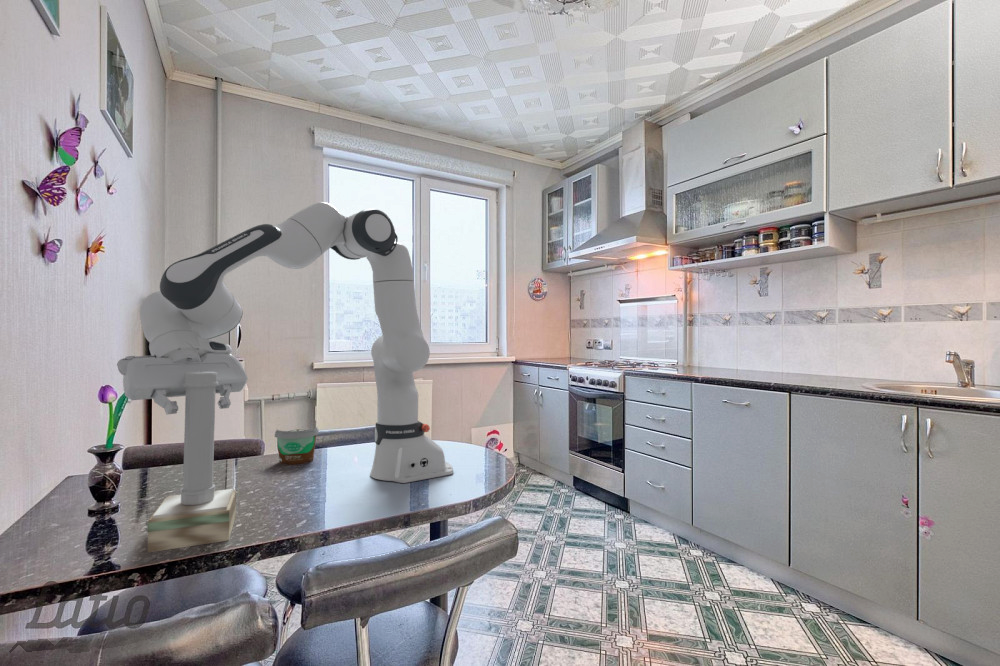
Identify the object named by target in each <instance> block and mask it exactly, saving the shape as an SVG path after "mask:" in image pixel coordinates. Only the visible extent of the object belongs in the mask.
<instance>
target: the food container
mask: <svg viewBox="0 0 1000 666" xmlns="http://www.w3.org/2000/svg"><path fill="white" fill-rule="evenodd" d="M319 434H320V432H319V428H318V426H316V427H315V428H314V427H313V428H311V429H300V428H299V429H292V430H287V431H286V430H279V429H276V430H275V431H274V437H275V438H276V439H277V440H276V441H277V451H278V452H277V453H278V460H279V461H278V463H279V464H280V465H283V466H299V465H300V466H301V465H305V464H308V463H312V462H313V461H314V456H315V448H316V440H317V436H318V435H319Z"/></svg>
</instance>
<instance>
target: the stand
mask: <svg viewBox="0 0 1000 666" xmlns="http://www.w3.org/2000/svg"><path fill="white" fill-rule="evenodd" d="M236 511H237V490H236V489H235V490H234V488H227V489H219V490H214V498H213V500H212V501H210V502H207V503H204V504H200V505H183V504H182V503H181V494H173V495H167V496H166V497H165V498H164V499H163V501H162V502H161V503H160V505H159V506H158V507H157V508H156V510H155V511H154V512H153V514H152V515H151V516H150V517H149V519H148V520H147V521H148V523H147V553H153V552H161V551H167V550H173V549H180V548H188V547H194V546H201V545H208V544H213V543H219V542H227V541H228V542H229V541H230V537H231V534H232V530H233V527H234V523H235V521H236V518H237V514H236V513H237V512H236Z"/></svg>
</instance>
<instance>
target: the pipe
mask: <svg viewBox="0 0 1000 666" xmlns="http://www.w3.org/2000/svg"><path fill="white" fill-rule="evenodd" d="M186 343H187V344H189V343H188V342H186ZM189 345H190V346H191V347H192V348H193V349H194V347H193V346H192V345H191V344H189ZM194 351H195V352H196V350H195V349H194ZM196 354H197V356H198V359H199V363H200V369H201V372H187V373H185V374H184V383H183V387H186V396H185V398H184V399H185V402H184V403H185V405H184V406H185V407H184V437H183V438H184V441H183V443H184V444H183V472H182V473H183V478H182V487H181V488H180V490H179V493H180V495H181V503H182V504H183V505H200V504H204V503H207V502H210V501H212V500H213V498H214V491H215V489H216V484H214V461H215V460H214V455H215V454H214V453H215V423H216V422H215V421H216V420H215V418H216V415H215V414H216V394H215V388H216V386H218V382H217V376H218V374H217V372H202V366H201V361H200V358H199V355H198V353H197V352H196Z"/></svg>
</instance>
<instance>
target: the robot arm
mask: <svg viewBox="0 0 1000 666" xmlns="http://www.w3.org/2000/svg"><path fill="white" fill-rule="evenodd" d="M398 238H399V237H398V235H397V233H396V229H395V226H394V225H393V221H392V219H391V218H390V217H389V216H388V215H387V213H385V212H384V211H383V210H379V209H377V208H376V209H375V208H367V209H362V210H361V211H359V212H356V213H353V214H352V215H349V216H344V215H343V214H341V212H340V211H339V210H338V209H337V208H336V207H335V206H333V205H332V204H330V203H328V202H324V201H318V202H316V203H312V204H311V205H309V206H307V207H305V208H302V209H300V210H299V211H298V212H296V213H294V214H293V215H291V216H290V217H288V218H286V219H285V220H284V221H282V222H280V223H278V224H276V225H272V224H269V223H265V224H259V225H256V226H253V227H250V228H248V229H246V230H244V231H242V232H239V233H238V234H236V235H234V236H232V237H230V238H227V239H226V240H225V241H222V242H220V243H219V244H217V245H214V246H212V247H210V248H208V249H207V250H204V251H202V252H201V253H198V254H195V255H193V256H189V257H186V258H183V259H180V260H178V261H176V262H173V263H171V265H169V266H168V267H167V268H166V269H165V270H164V272H163V274H162V276H161V279H160V282H159V290H158V291H153V292H152V293H151V294H149V295H147V296H146V297H144V299H143V300H142V301H141V304H140V308H139V320H140V325H141V328H142V334H143V336H144V338H145V339H146V340H147V342H148V343H149V345H148V348H149V353H150V355H141V356H135V355H127V356H125V358H124V357H123V358H121V359H119V360H118V361H117V363H116V366H117V370H118V372H119V374H121V375H123V377H122V383H123V384H122V385H123V393H124V397H126V398H128V399H129V400H131V401H139V400H153V403H155V404H157V406H159V407H161V408H163V409H164V412H165V414H166V415H175V414H176V415H177V413H178V411H179V405H178V402H177V401H176V400H171V399H169V398H177V397H186V387H183V383H184V374H185V373H187V372H201V369H200V363H199V359H198V356H197V354H196V352H197V353H198V355H199V358H200V361H201V366H202V372H217V374H218V376H217V382H218V386H216V388H215V395H217V394H219V395H220V398H219V400H218V401H217V405H218V407H219V409H220V410H221V409H229V408H230V406H231V403H232V402H231V399H230V394H231V393H238V392H241V391H242V390H243V389H244V387H245V386H246V384H247V382H248V374H247V373H246V371H245V368H244V366H243V364H242V363H241V361H240V360H239V359H238V358H237V357H236V356H235V355H232V351H233V349H232V347H231V345H230V344H228V343H224V342H219V341H218V342H217V341H215V340H211V339H214V338H217V337H220V336H222V335H225V334H228V333H230V332H232V331H233V330H234V329H236V327H237V326H238V325H239V324H240V323H241V320H242V318H243V314H244V313H243V308H242V306H241V305H240V304H239V302H238V300H237V299H236V298H235V296H234V294H233V293H232V292H231V291H230V290H229V289H228V287H227V286H226V285H225V283H224V281H223V280H224V278H225V276H226V275H227V274H228V273H230V272H232V271H234V270H236V269H237V268H239V267H241V266H242V265H245V264H247V263H248V262H251V261H252V260H253V259H256V258H259V257H267V258H268V259H270V260H271V261H273V262H275V263H277V264H278V265H279V266H282V267H284V268H288V269H294V270H299V269H304V268H306V267H308V266H309V265H311V264H313V263H314V262H315V261H316V260H317V259H319V258H320V257H321V256H322V255H323V254H325V253H326V251H328V250H329V249H331V250H333V251H335V253H336V254H337V255H339V256H340V257H342V258H344V259H347V260H361V259H363V258H366V259H367V261H368V262H369V264H370V268H371V271H372V284H373V285H372V286H373V297H374V298H373V300H374V311H375V314H376V316H377V319H378V322H379V326H380V329H381V333H382V334H381V336H379V337H378V338H376V340H375V341H374V342H373V343H372V344H371V345H372V346H371V351H370V353H371V357H372V361H373V371H374V378H375V383H376V394H377V396H376V397H377V401H376V403H377V409H376V411H377V414H376V415H377V416H376V418H377V419H376V422H375V428H374V441H375V448H374V449H375V450H374V456H373V461H372V465H371V470H370V473H369V476H370V477H371V478H373V479H376V480H380V481H388V482H395V483H401V484H407V483H410V482H411V483H413V482H416V481H422V480H427V479H429V480H430V479H433V478H438V477H439V478H440V477H445V476H449V475H452V474H453V473H454V468H453V466H452V464H450V463H449V462H447V461H446V459H445V457H446V456H445V452H444V450H443V448H442V447H441V446H440V445H438V444H437V443H436V441H434V440H433V439H431V438H429V437H428V436H427V435H425V433H428V432H429V431H430V430H431V427H430V426H431V425H430V426H429V424H428V423H423V422H421V421H420V420H419V392H418V389H417V386H416V382H415V378H414V372H417V371H419V370H421V369H423V368H424V367H425V366H426V365H427V363H428V362H429V359H430V354H431V353H430V352H431V351H430V347H429V345H428V343H427V340H426V339H425V337H424V333H423V330H422V326H421V323H420V319H419V315H418V310H417V301H416V292H415V291H416V289H415V282H414V281H415V280H414V279H415V278H414V276H415V275H414V271H413V264H412V260H411V256H410V253H409V252H410V251H409V249H408V248H407V247H406V246H405V245H404V244H403V243H400V242H398ZM186 342H188V343H189V344H191V345H192V346H193V347H194V349H195V350H196V352H195V351H194V349H193V348H192V347H191V346H190V345H189V344H187V343H186Z"/></svg>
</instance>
